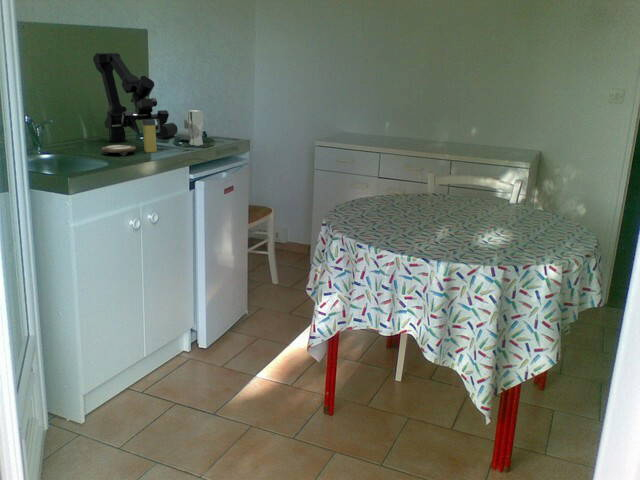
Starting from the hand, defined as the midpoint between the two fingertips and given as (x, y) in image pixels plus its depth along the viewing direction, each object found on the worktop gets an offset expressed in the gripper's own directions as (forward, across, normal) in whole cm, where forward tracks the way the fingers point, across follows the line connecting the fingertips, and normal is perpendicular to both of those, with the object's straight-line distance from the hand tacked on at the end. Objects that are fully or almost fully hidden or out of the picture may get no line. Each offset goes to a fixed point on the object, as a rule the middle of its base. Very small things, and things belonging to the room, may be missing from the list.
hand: (150, 133), depth 264 cm
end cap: (-20, +18, +30) cm, 40 cm away
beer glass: (-2, +23, +12) cm, 26 cm away
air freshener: (-10, +25, +21) cm, 35 cm away
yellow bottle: (+5, 0, +6) cm, 8 cm away
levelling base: (+5, -13, +6) cm, 15 cm away
